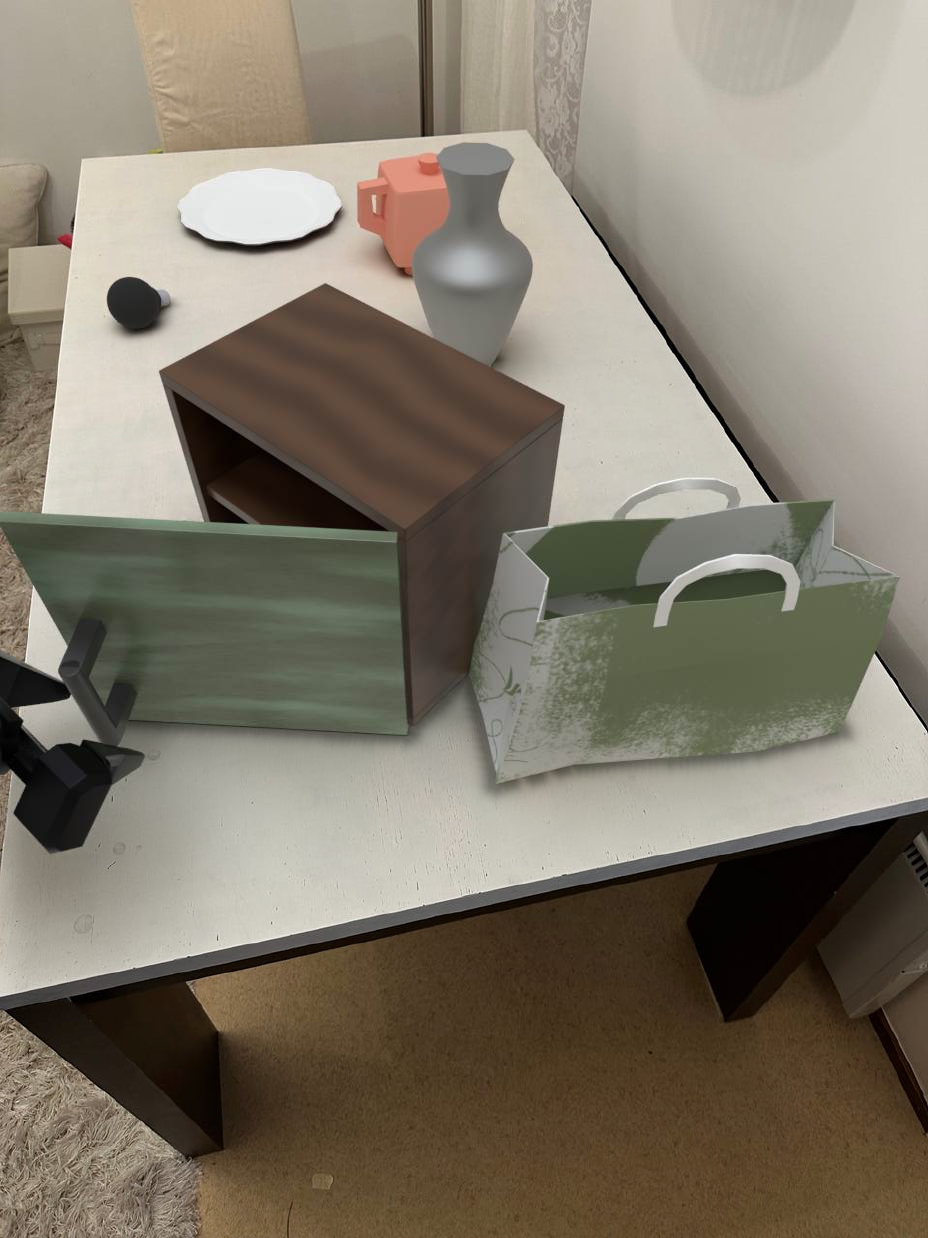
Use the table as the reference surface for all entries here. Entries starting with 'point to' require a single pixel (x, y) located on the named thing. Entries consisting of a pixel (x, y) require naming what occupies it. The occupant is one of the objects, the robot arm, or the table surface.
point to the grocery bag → (674, 634)
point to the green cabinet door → (221, 621)
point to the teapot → (404, 204)
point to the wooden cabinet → (372, 455)
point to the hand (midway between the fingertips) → (105, 725)
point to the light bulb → (135, 302)
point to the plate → (259, 206)
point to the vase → (472, 257)
